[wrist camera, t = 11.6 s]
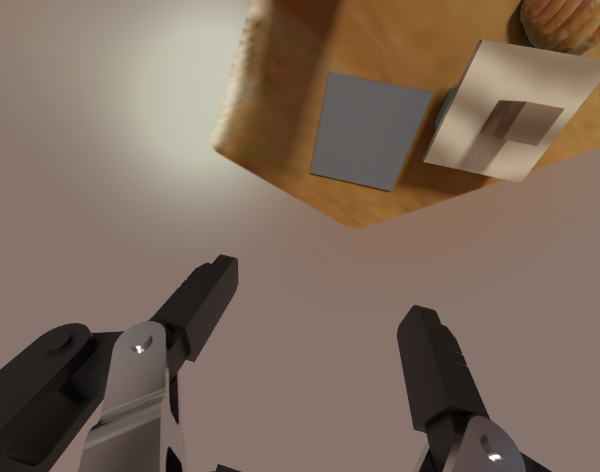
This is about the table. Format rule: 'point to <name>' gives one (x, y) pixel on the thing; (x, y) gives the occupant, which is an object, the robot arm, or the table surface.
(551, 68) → the lid
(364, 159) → the mat
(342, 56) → the table surface
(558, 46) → the pastry
